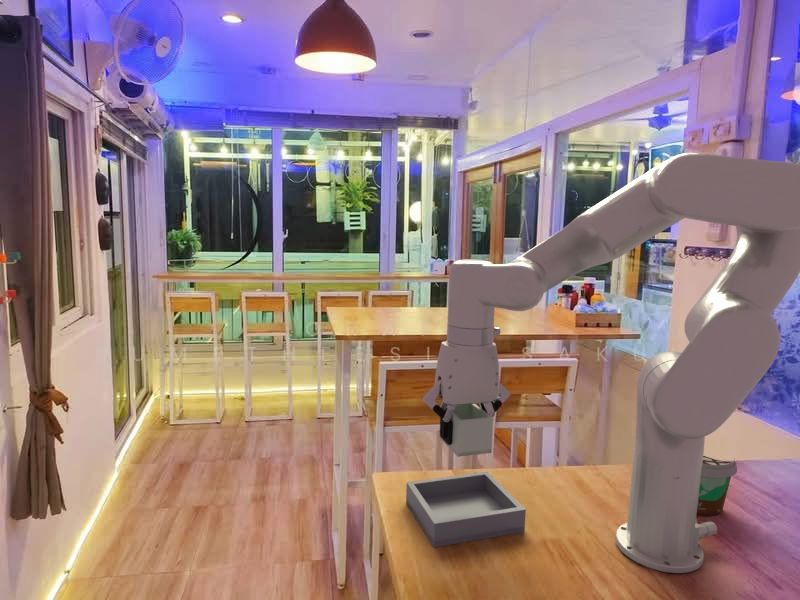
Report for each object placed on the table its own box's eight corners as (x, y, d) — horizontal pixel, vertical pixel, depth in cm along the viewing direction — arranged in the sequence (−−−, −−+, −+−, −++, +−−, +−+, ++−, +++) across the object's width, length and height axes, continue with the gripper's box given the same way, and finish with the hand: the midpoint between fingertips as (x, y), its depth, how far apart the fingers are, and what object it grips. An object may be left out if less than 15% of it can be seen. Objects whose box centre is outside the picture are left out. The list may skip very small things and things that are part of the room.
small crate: (470, 434, 99) (472, 401, 98) (491, 452, 91) (493, 418, 90) (439, 437, 97) (440, 404, 96) (457, 456, 90) (459, 421, 89)
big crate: (486, 491, 105) (487, 471, 105) (524, 531, 92) (525, 509, 91) (406, 502, 100) (406, 482, 100) (433, 547, 87) (434, 523, 87)
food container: (654, 509, 100) (659, 456, 98) (656, 494, 105) (661, 444, 104) (734, 528, 94) (740, 472, 93) (732, 511, 100) (738, 458, 98)
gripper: (506, 328, 97) (500, 426, 100) (412, 332, 92) (409, 436, 95) (528, 338, 90) (521, 443, 93) (428, 343, 85) (424, 454, 88)
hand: (465, 438), depth 94 cm, fingers closed on small crate, 6 cm apart
